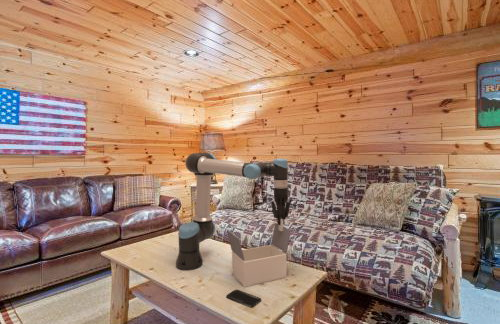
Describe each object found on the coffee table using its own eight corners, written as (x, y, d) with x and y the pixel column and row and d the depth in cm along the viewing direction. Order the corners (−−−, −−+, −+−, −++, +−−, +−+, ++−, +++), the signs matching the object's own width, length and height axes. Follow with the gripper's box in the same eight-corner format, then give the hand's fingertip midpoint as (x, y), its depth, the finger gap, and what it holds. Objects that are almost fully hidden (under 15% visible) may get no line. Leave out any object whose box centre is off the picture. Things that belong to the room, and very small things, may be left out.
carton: (232, 274, 153) (232, 251, 152) (271, 265, 163) (271, 244, 162) (244, 287, 139) (244, 262, 138) (286, 277, 149) (286, 254, 148)
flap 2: (275, 223, 163) (276, 223, 163) (271, 243, 162) (271, 243, 162) (290, 230, 149) (291, 230, 149) (285, 252, 148) (286, 252, 148)
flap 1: (232, 250, 152) (231, 250, 152) (227, 229, 150) (226, 229, 150) (244, 260, 138) (243, 261, 138) (239, 238, 136) (238, 238, 136)
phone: (235, 289, 136) (262, 298, 127) (236, 291, 136) (262, 301, 127) (225, 296, 129) (251, 306, 120) (225, 298, 129) (251, 309, 120)
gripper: (273, 189, 148) (273, 234, 149) (294, 187, 153) (294, 230, 154) (266, 187, 155) (267, 230, 156) (287, 185, 160) (287, 227, 161)
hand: (280, 230), depth 155 cm, fingers closed
